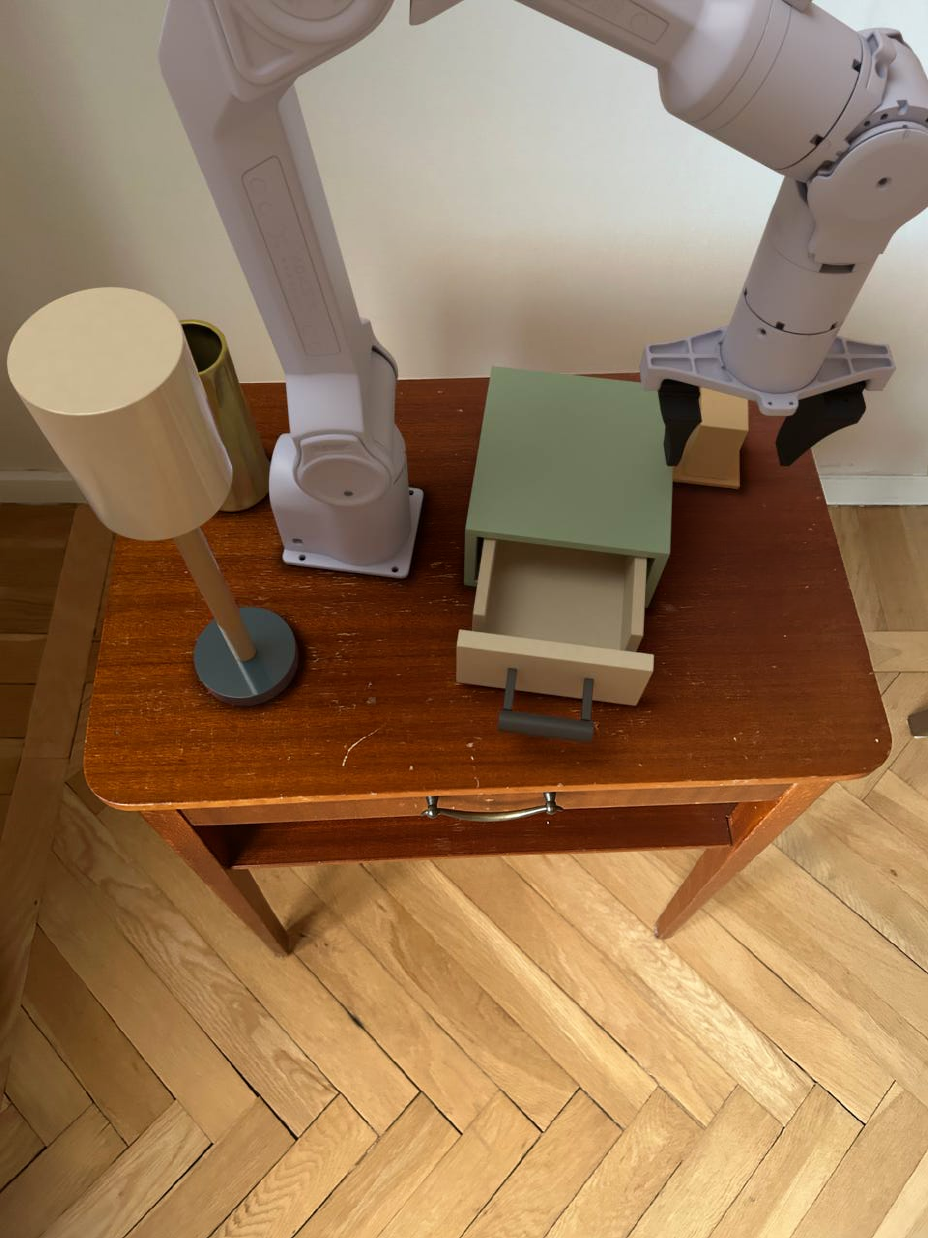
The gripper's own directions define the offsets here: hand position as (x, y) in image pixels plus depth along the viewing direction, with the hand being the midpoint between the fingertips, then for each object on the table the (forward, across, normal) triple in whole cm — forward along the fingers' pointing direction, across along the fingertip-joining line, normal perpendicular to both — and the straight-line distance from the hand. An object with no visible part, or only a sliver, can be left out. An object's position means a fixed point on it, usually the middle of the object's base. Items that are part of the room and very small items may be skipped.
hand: (726, 454), depth 59 cm
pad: (+9, +1, +7) cm, 11 cm away
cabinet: (+9, -10, +1) cm, 14 cm away
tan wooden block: (+9, +2, +6) cm, 11 cm away
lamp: (+9, -33, -11) cm, 36 cm away
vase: (+9, -36, +4) cm, 37 cm away
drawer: (+8, -12, -10) cm, 17 cm away
